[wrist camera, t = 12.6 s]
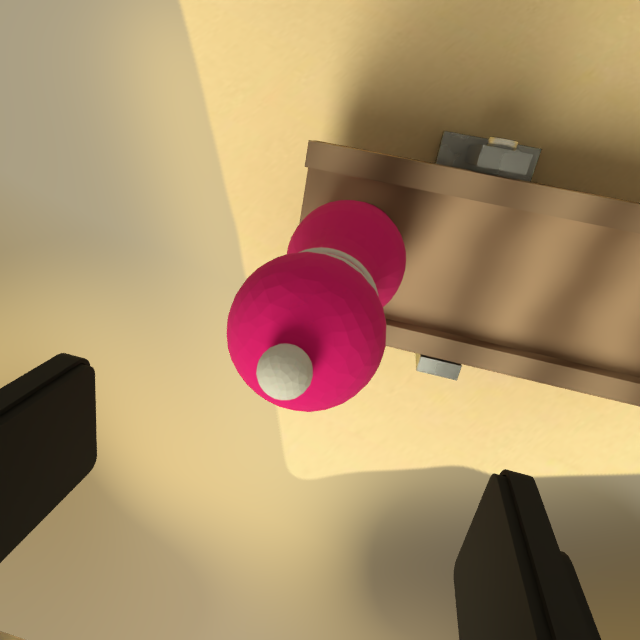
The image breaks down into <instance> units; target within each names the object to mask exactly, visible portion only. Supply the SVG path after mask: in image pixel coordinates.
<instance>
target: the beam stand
mask: <svg viewBox="0 0 640 640" xmlns="http://www.w3.org/2000/svg"><path fill="white" fill-rule="evenodd" d="M540 152H541V149H539V148H533V147H528V146H523V145H518V142H517V141H513V140H508V139H502V138H496V137H489V139H485V138H480V137H474V136H469V135H463V134H458V133H453V132H447V131H444V132H443V136H442V140H441V143H440V147H439V151H438V155H437V159H436V163H435V164H440V165H445V166H450V167H455V168H461V169H466V170H471V171H476V172H481V173H486V174H492V175H497V176H502V177H507V178H512V179H517V180H523V181H528V182H530V181H531V179H532V176H533V173H534V170H535V167H536V164H537V161H538V158H539V155H540ZM461 367H462V366H461V364H460V363H456V362H451V361H447V360H443V359H439V358H435V357H430V356H426V355H422V354H418V353H416V371H420V372H424V373H428V374H432V375H436V376H440V377H445V378H449V379H453V380H457V379H458V376H459V373H460V370H461Z"/></svg>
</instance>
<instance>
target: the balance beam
mask: <svg viewBox="0 0 640 640" xmlns="http://www.w3.org/2000/svg"><path fill="white" fill-rule="evenodd" d="M305 167H308V173H307V179H306V185H305V192H304V198H303V205H302V211H301V217H300V223H301V222H302V221H303V219H304V218H305V217H306V216H307V215H308V214H309V213H311V212H312V211H313V210H315V209H316V208H318V207H320V206H322V205H324V204H327V203H329V202H334V201H339V200H355V201H361V202H366V203H369V204H372V205H374V206H376V207H378V208H379V209H381V210H382V211H383V212H385V213H386V214H387V215H388V216H389V218H390V219H391V220H392V222H393V223H394V224H395V225H396V227H397V228H398V230H399V232H400V234H401V236H402V239H403V241H404V245H405V250H406V267H405V272H404V276H403V279H402V282H401V284H400V286H399V288H398V290H397V292H396V293H395V295H394V296H393V298H392V299H391V300H390V301H389V302H388V303H387V304H386V305H385V306H384V307H383V310H384V314H385V319H386V346H388V347H393V348H397V349H401V350H405V351H409V352H414V353H418V354H422V355H426V356H430V357H435V358H439V359H443V360H447V361H451V362H456V363H460V364H464V365H468V366H472V367H476V368H481V369H485V370H489V371H493V372H497V373H502V374H506V375H510V376H514V377H518V378H523V379H527V380H531V381H535V382H539V383H544V384H548V385H552V386H556V387H560V388H565V389H569V390H573V391H577V392H581V393H585V394H590V395H594V396H598V397H602V398H606V399H611V400H615V401H619V402H623V403H627V404H632V405H636V406H640V203H636V202H631V201H626V200H621V199H616V198H611V197H605V196H600V195H595V194H590V193H585V192H579V191H574V190H569V189H564V188H559V187H554V186H548V185H543V184H538V183H533V182H528V181H523V180H517V179H512V178H507V177H502V176H497V175H492V174H486V173H481V172H476V171H471V170H466V169H461V168H455V167H450V166H445V165H440V164H435V163H429V162H424V161H419V160H414V159H409V158H404V157H398V156H393V155H388V154H383V153H378V152H373V151H367V150H362V149H357V148H352V147H347V146H342V145H336V144H331V143H326V142H321V141H311V140H309V142H308V149H307V155H306V162H305Z"/></svg>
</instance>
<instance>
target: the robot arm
mask: <svg viewBox="0 0 640 640" xmlns="http://www.w3.org/2000/svg"><path fill="white" fill-rule="evenodd" d="M96 457H97V442H96V401H95V371H94V369H93V368H92V367H91V366H90V363H89V361H88V360H87V359H85V358H81V357H77V356H72V355H69V354H66V353H61V354H58V355H56V356H55V357H53V358H51V359H50V360H48V361H46V362H44V363H43V364H41V365H40V366H38V367H36V368H34V369H33V370H31V371H29V372H28V373H26V374H24V375H23V376H21V377H19V378H18V379H16V380H14V381H12V382H11V383H9V384H7V385H6V386H4V387H2V388H1V389H0V563H1V562H2V561H3V560H4V558H5V557H6V556H7V555H8V554H9V553H10V552H11V551H12V550H13V549H14V548H15V547H16V546H17V545H18V544H19V543H20V542H21V541H22V540H23V539H24V538H25V537H26V536H27V535H28V534H29V533H30V532H31V531H32V530H33V529H34V528H35V527H36V526H37V525H38V524H39V523H40V522H41V521H42V520H43V519H44V518H45V517H46V516H47V515H48V514H49V513H50V512H51V511H52V510H53V509H54V508H55V507H56V506H57V505H58V504H59V503H60V502H61V501H62V500H63V499H64V498H65V497H66V496H67V495H68V494H69V492H70V491H72V490H73V488H75V487H76V485H77V484H79V483H80V482H81V481H82V479H83V478H84V477H85V476H86V475H87V474H88V473H89V472H90V471H91V470H92V468H93V467H94V464H95V462H96V459H97V458H96ZM454 586H455V597H456V608H457V619H458V629H459V640H601V638H600V635H599V633H598V630H597V627H596V625H595V622H594V620H593V617H592V614H591V611H590V609H589V606H588V604H587V601H586V598H585V596H584V593H583V590H582V588H581V585H580V582H579V580H578V577H577V574H576V572H575V569H574V566H573V564H572V562H571V560H570V558H569V556H568V555H567V554H565V553H564V552H561V551H560V549H559V547H558V544H557V541H556V539H555V535H554V533H553V530H552V527H551V524H550V522H549V519H548V516H547V513H546V511H545V508H544V505H543V502H542V499H541V497H540V494H539V491H538V488H537V486H536V483H535V480H534V478H533V477H531V476H528V475H525V474H521V473H517V472H513V471H509V470H506V469H505V470H503V471H502V472H501V473H500V475H498V474H492V475H491V477H490V479H489V482H488V484H487V487H486V489H485V491H484V494H483V496H482V499H481V501H480V503H479V506H478V509H477V511H476V513H475V516H474V518H473V521H472V523H471V526H470V528H469V530H468V533H467V535H466V537H465V540H464V543H463V545H462V547H461V550H460V552H459V555H458V557H457V559H456V562H455V567H454ZM0 640H25V639H23V638H19V637H17V636H14V635H10V634H8V633H4V632H2V631H0Z"/></svg>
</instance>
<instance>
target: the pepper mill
mask: <svg viewBox="0 0 640 640" xmlns="http://www.w3.org/2000/svg"><path fill="white" fill-rule="evenodd" d="M405 267H406V250H405V245H404V241H403V239H402V236H401V234H400V232H399V230H398V228H397V227H396V225H395V224H394V223H393V222H392V220H391V219H390V218H389V216H388V215H387V214H386V213H385V212H383V211H382V210H381V209H379V208H378V207H376V206H374V205H372V204H369V203H366V202H361V201H355V200H339V201H334V202H329V203H327V204H324V205H322V206H320V207H318V208H316V209H315V210H313V211H312V212H311V213H309V214H308V215H307V216H306V217H305V218H304V219H303V221H302V222H301V223H300V224H299V226H298V227H297V229H296V230H295V232H294V234H293V236H292V237H291V240H290V243H289V246H288V251H287V255H284V256H280V257H277V258H275V259H273V260H271V261H269V262H267V263H266V264H264V265H263V266H261V267H259V268H258V269H257V270H256V271H255V272H254V273H253V274H252V275H251V276H249V277H248V278H247V280H246V281H245V282H244V284H243V285H242V287H241V288H240V290H239V291H238V293H237V294H236V296H235V298H234V301H233V303H232V306H231V309H230V312H229V316H228V322H227V341H228V349H229V353H230V356H231V359H232V361H233V363H234V365H235V367H236V369H237V371H238V373H239V374H240V376H241V377H242V378H243V380H244V381H245V382H246V384H247V385H248V386H249V387H250V388H252V389H253V390H254V391H255V392H256V393H257V394H258V395H260V396H261V397H263V398H264V399H265V400H267V401H269V402H271V403H273V404H275V405H277V406H280V407H283V408H287V409H291V410H296V411H306V412H312V411H319V410H326V409H329V408H332V407H335V406H337V405H340V404H342V403H344V402H346V401H347V400H349V399H350V398H352V397H353V396H355V395H356V394H357V393H358V392H359V391H360V390H361V389H362V388H363V387H365V386H366V385H367V384H368V382H369V381H370V380H371V378H372V377H373V375H374V374H375V372H376V370H377V369H378V367H379V365H380V362H381V359H382V356H383V353H384V350H385V346H386V319H385V314H384V310H383V307H384V306H385V305H386V304H387V303H388V302H389V301H390V300H391V299H392V298H393V296H394V295H395V293H396V292H397V290H398V288H399V286H400V284H401V282H402V279H403V276H404V272H405Z"/></svg>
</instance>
